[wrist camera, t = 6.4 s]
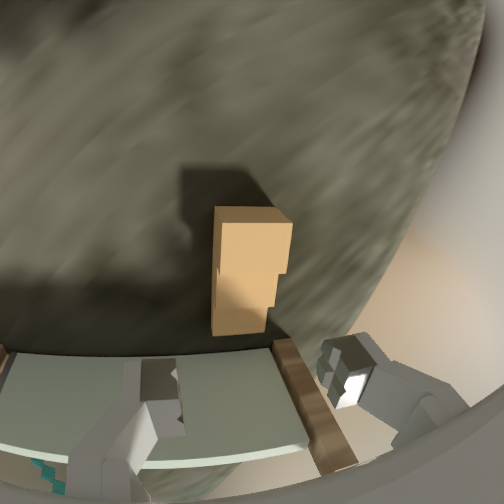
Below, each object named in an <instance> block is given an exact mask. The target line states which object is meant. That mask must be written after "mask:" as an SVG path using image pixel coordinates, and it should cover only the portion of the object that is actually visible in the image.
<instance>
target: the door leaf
mask: <svg viewBox="0 0 504 504" xmlns="http://www.w3.org/2000/svg"><path fill="white" fill-rule="evenodd" d="M164 358H176V363H177V370H178V377H179V383H180V390H181V398H182V410H183V416H184V424H185V432H186V436H175V437H161V438H158V440H157V442H156V444H155V445H154V447H153V449H152V450H151V452H150V454H149V455H148V457H147V459H146V461H145V462H144V464H143V466H142V467H141V469H165V468H187V467H200V466H211V465H220V464H229V463H236V462H243V461H249V460H255V459H261V458H267V457H272V456H277V455H282V454H287V453H290V452H295V451H300V450H303V449H306V448H307V446H308V444H309V441H310V439H309V437H308V435H307V433H306V431H305V428H304V426H303V424H302V422H301V420H300V417H299V415H298V413H297V411H296V408H295V406H294V404H293V402H292V399H291V397H290V395H289V393H288V391H287V388H286V386H285V384H284V381H283V379H282V377H281V375H280V372H279V370H278V368H277V366H276V363H275V361H274V359H273V356H272V354H271V352H270V350H269V348H263V349H254V350H244V351H234V352H223V353H211V354H196V355H179V356H155V357H77V356H54V355H38V354H26V353H17V352H14V351H13V352H11V353H10V355H9V357H8V359H7V361H6V364H5V366H4V368H3V370H2V372H1V375H0V450H2V451H6V452H10V453H14V454H18V455H23V456H27V457H32V458H37V459H42V460H48V461H54V462H61V463H67V464H68V456H69V453H70V452H71V451H72V450H73V449H74V448H75V446H76V445H77V444H78V443H79V442H80V441H81V440H82V439H83V438H84V436H85V435H86V434H87V433H88V432H89V431H90V430H91V429H92V428H93V426H94V425H95V424H96V423H97V422H98V421H99V420H100V419H101V418H102V416H103V415H104V414H105V413H106V412H107V411H108V410H109V409H110V408H111V406H112V405H113V404H114V403H115V402H120V400H121V388H122V377H123V367H124V362H125V360H126V359H164Z"/></svg>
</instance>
